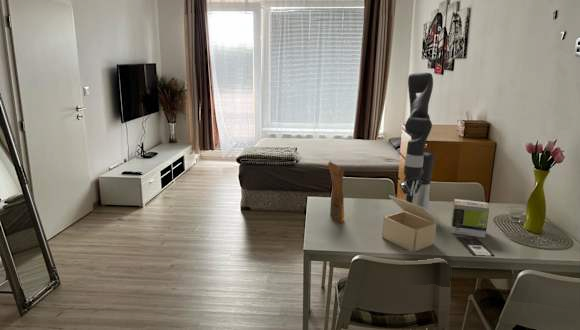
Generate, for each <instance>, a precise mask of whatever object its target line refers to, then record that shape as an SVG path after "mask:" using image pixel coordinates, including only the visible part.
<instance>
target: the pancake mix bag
mask: <svg viewBox="0 0 580 330" xmlns="http://www.w3.org/2000/svg"><path fill="white" fill-rule="evenodd" d="M327 164H328V169H329V172H330V178H331V184H332V185H331V198H330V209H329V211H330V216H331V217H332V219H333V220H334V222H335V223H338V224H339V223H340V224H342V223H343V222H344V220H345V207H344V191H343V190H344V170H343V169H342V167H340V166H339V165H337V164H336V163H333V162H332V161H331V160H330V161H329V162H328V163H327Z"/></svg>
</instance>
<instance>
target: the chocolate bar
mask: <svg viewBox="0 0 580 330" xmlns="http://www.w3.org/2000/svg"><path fill="white" fill-rule="evenodd" d="M456 238H457V239H458V241H459V242H460V243H461V244H462V245H463V246H464V248H465V249H466V250H469V251H468V252H469V253H470V254H471V255H472V256H476V255H485V256H484V257H486V256H487V257H488V256H489V257H494V256H495V254H494V253H493V252H492V251H491V250H490V249H489V248H488V247H487V246H486V244H484V243H483V242H482V241H481V240H480V239H479V237H476V236H456Z"/></svg>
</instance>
